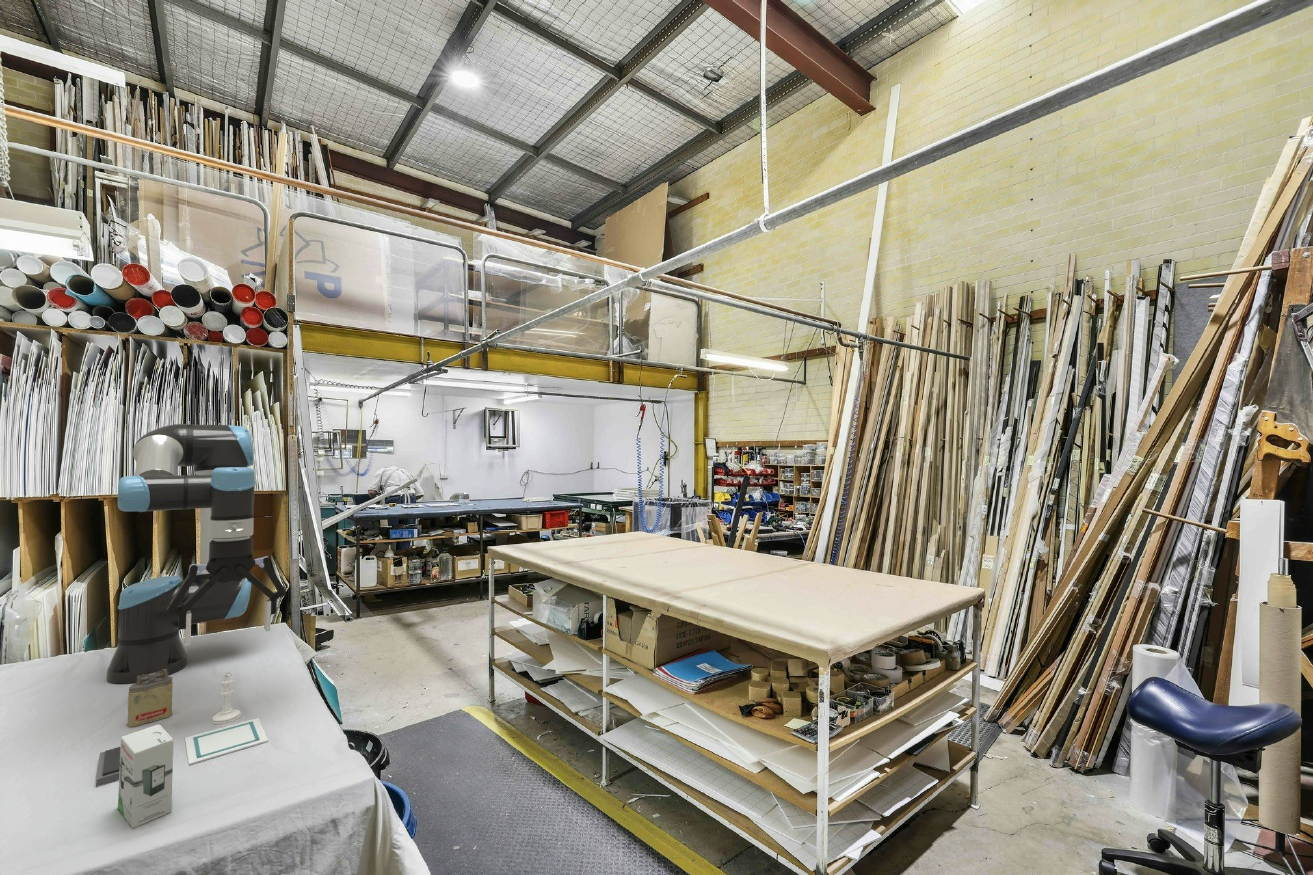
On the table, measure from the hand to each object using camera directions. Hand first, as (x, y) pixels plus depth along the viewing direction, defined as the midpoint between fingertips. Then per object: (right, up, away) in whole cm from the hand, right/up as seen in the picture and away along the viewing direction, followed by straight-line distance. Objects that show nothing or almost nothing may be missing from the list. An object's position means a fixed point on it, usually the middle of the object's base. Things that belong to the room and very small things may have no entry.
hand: (228, 636), depth 117 cm
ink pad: (-5, -17, -17) cm, 25 cm away
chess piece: (0, -18, 0) cm, 18 cm away
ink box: (+10, -18, -29) cm, 36 cm away
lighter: (-16, -18, -1) cm, 24 cm away
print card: (+6, -18, -9) cm, 21 cm away
